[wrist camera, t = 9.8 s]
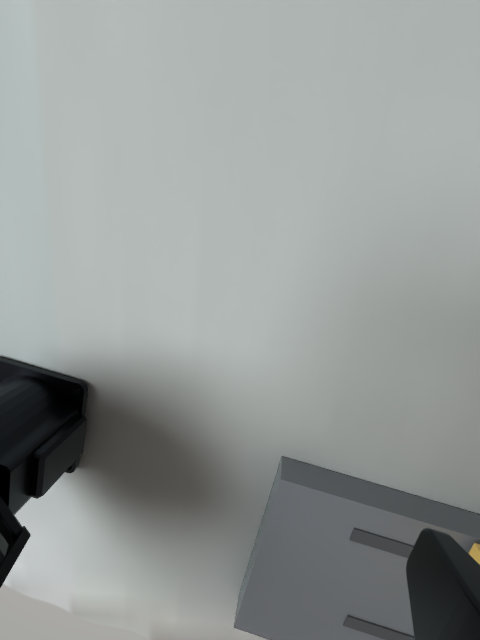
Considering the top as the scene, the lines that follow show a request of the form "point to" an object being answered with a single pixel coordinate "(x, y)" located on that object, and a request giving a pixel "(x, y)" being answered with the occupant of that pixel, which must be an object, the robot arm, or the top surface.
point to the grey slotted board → (338, 557)
